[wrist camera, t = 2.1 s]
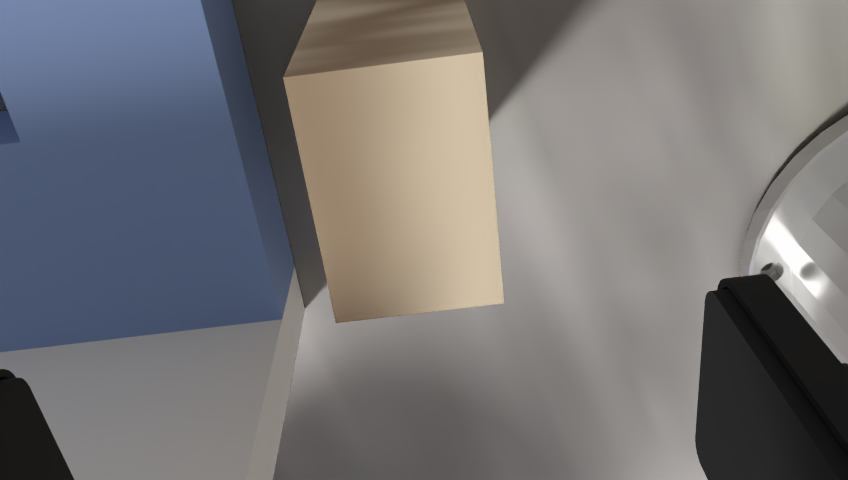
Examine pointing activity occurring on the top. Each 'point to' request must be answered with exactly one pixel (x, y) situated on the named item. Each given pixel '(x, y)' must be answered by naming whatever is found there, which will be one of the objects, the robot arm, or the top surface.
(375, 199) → the tan wooden pillar
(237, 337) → the blue base grey panel
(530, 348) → the top surface
